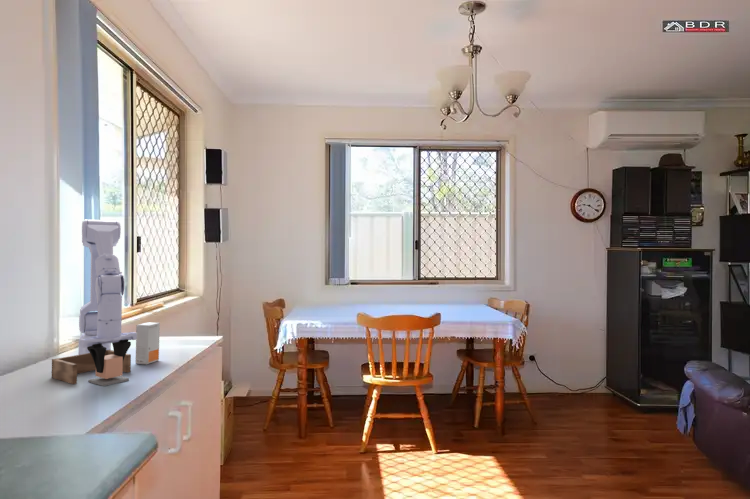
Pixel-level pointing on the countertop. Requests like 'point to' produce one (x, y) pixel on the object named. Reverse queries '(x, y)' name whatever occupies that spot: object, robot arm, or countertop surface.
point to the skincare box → (147, 342)
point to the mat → (108, 380)
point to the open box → (80, 366)
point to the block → (111, 367)
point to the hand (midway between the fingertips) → (108, 370)
